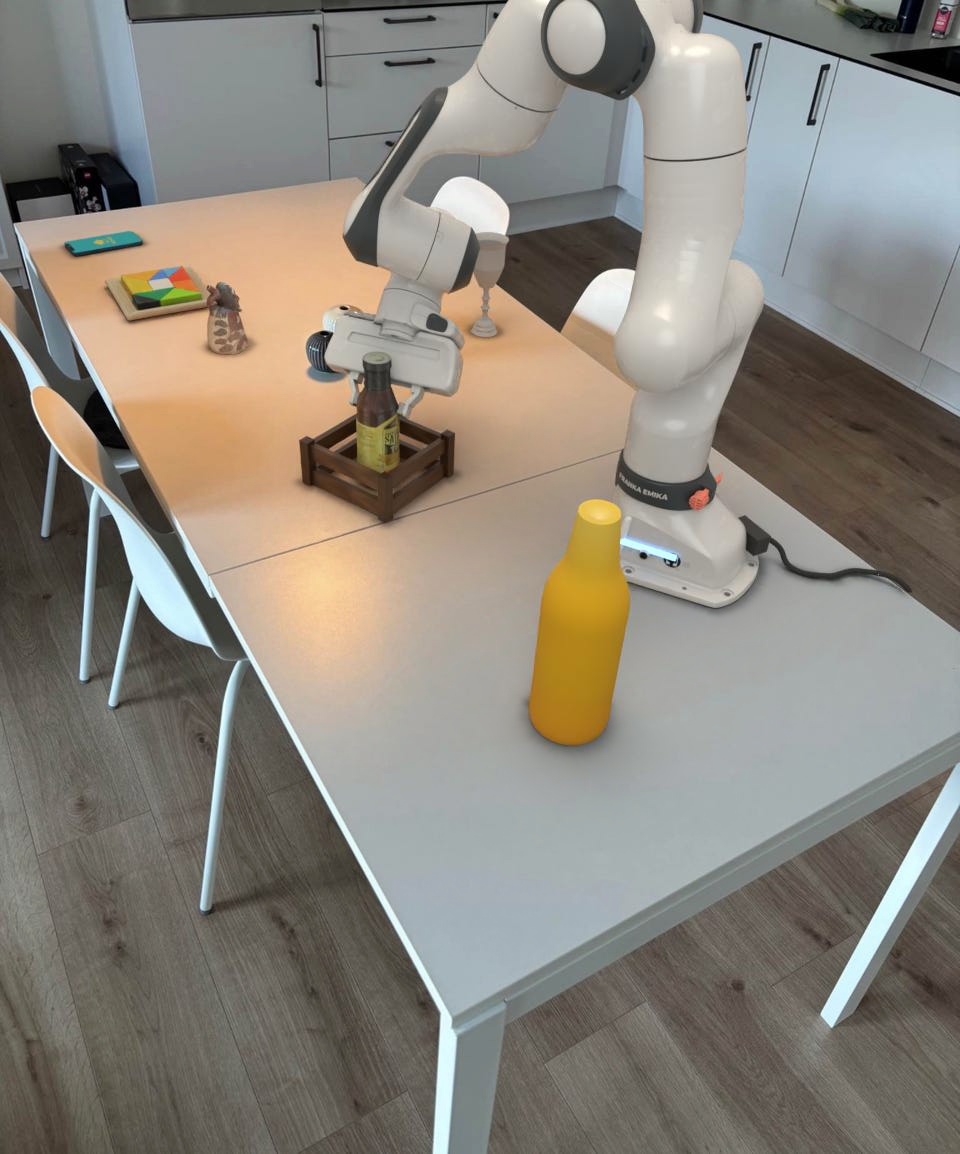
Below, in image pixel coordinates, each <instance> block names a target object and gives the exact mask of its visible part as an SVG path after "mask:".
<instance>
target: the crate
mask: <svg viewBox="0 0 960 1154" xmlns="http://www.w3.org/2000/svg"><path fill="white" fill-rule="evenodd" d="M356 416H357V412H356V413H354V414H352V415H351V416H349V417H348V418H346V419H344V420H343V421H341V422H339V423H338V424H335V425H334V426H333V427H331V428H329V429H328V430H326V431H324V432H322V433H321V434H319V435H318V436H316V437H314V438H313V437H311V436H308V435H305V436H304V437H302V438H300V439H299V440H298V442H299V454H300V469H301V479H302V480H301V481H302V484H304V485H306V486H309V487H312V486H315V487H317V488H318V489H321V490H324V491H325V492H328V493H329V494H331V495H334V496H336V497H337V498H340V499H342V500H343V501H346V502H348V503H351V504H353V505H355V506H357V507H359V508H361V509H363V510H365V511H367V512H369V513H371V514H373V515H375V516H377V519H378V520H379V521H382V522H384V523H385V524H387V523H389V522H390V521H391V520H393V519H394V515H395V514H396V513H397V512H398V511H400V510H401V509H403V508H404V507H405V506H407V505H408V504H409V503H412V502H413V501H414V500H416V498H419V496H421V495H422V494H424V493H425V492H426V491H428V490H429V489H431V488H432V487H434V486H435V485H436V484H438V483H439V482H441V481H442V480H443V479H444V478H445V479H449V478H450V477H451V478H452V476H453V475H454V473H455V452H456V451H455V450H456V447H455V446H456V433H455V432H454V431H451V430H449V429H445V430H443V431H442V432H440V431H437V430H435V429H433V428H430V427H429V426H425V425H423V424H421V423H418V422H415V421H413V420H411V419H406V418H402V417H399V428H400V430H399V435H402V436H405V437H408V438H410V439H412V440H415V441H416V442H419V443H421V444H424V445H426V446H425V447H424V448H421V447H418V446H416V445H414V444H412V443H409V442H406V441H404V440H402V439H400V438H399V459H402V460H404V461H403V462H401V463H399V465H398V466H397V467H395V468H394V469H392V470H391V471H389V472H388V473H387V472H385V471H384V472H382V473H379V472H377V471H375V470H373V469H371V468H368V467H366V466H364V465H362V464H360V463H358V462H357V461H355V460H354V459H357V437H355V438H354V439H352V440H350V441H349V442H346V443H345V444H344V445H342V446H341V447H338V448H337V449H335V450H331V448H333V447H335V446H336V445H338V444H339V443H341V442H342V441H344V440H346V439H348V438H350V437H351V436H353V435H355V434H357V426H356ZM422 469H425V471H424V472H422V473H421V474H419V475H418V476H416V477H415V478H413V479H412V480H410V481H409V482H407V483H406V484H405V485H403V486H402V487H400V488H399V489H398V490H396V491H395V492H394V489H395V488H396V487H398V486H400V485H401V484H403V483H404V482H406V481H407V480H408V479H410V478H411V477H412V476H414V475H415V474H417V473H418V472H419V471H422ZM335 472H336V473H339V474H341V475H343V476H345V477H348V478H349V479H352V480H353V481H355V482H358V483H360V484H362V485H364V484H365V485H364V486H366V485H367V486H369V487H368V488H371V489H373V490H375V491H377V495H376V494H374V493H372V492H370V491H368V490H366V489H363V488H361V487H359V486H357V485H355V484H353V483H351V482H349V481H347V480H344V479H342V478H340V477H338V476H336V475H334V474H332V473H335ZM367 486H366V487H367Z"/></svg>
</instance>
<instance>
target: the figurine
mask: <svg viewBox="0 0 960 1154" xmlns="http://www.w3.org/2000/svg"><path fill="white" fill-rule="evenodd" d="M205 287H206V290H208V291H209V292H210V293H211V294H210V295H209V296H208V298H207V307H206V308H207V311H208V317H207V325H206V329H207V330H206V337H207V344H208V347H209V349H210V350H211V351H212V352H213V353H216V354H219V355H237V354H240V353H242V352H243V351H245V350H246V348H248V347H249V345H250V344H249V340H248V336H247V333H246V330H245V327H244V324H243V321H242V317H241V315H240V313H241V312H243V308H242V307H241V306H240V303H239V302H240V299H241V298H240V297H239V296H238V295H237V294H236V291H235V289H234V288H233V287H232V286H231V285H229V284H228V283H226V282H224V281H219V282H217V283H216V285H215V287H214V286H213V285H211V284H207V285H205ZM214 301H216V302H217V303H216V304H215V305H214V306H211V303H212V302H214Z"/></svg>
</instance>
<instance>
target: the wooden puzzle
mask: <svg viewBox="0 0 960 1154" xmlns="http://www.w3.org/2000/svg"><path fill="white" fill-rule="evenodd" d="M104 284H105V285H106V286H107V288H108V290H109V291H110V293H111V295H112V296H113V298H114V300H115V301H116V304H117V305H118V306H119V308H120V310H121V311H122V313H123V315H124V317H125V318H126V319H127V321H134V320H139V319H146V318H151V317H157V316H162V315H163V316H164V315H168V314H175V313H181V312H185V311H191V310H197V309H203V308H207V298H208V296H209V295H210V294H211V293H210V292H209V291H208V290H206V285H205V284H204V282H203V281H202V280H201V278H200V277H199V275H198V274H197V273H196V271H195V270H194V268H193V267H192V266H187V267H184V266H183V265H181V266H180V265H179V266H174V267H166V268H161V269H160V268H159V269H152V270H147V271H141V272H133V273H127V274H121V275H120V277H116V278H115V277H114V278H109V279H105V280H104ZM216 303H217V302H216V301H214V302H212V303H211V307H213V306H214V305H215V304H216Z"/></svg>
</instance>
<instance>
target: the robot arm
mask: <svg viewBox="0 0 960 1154" xmlns="http://www.w3.org/2000/svg"><path fill="white" fill-rule="evenodd" d="M703 18H704V3H703V0H507V2H506V3H505V5H504V6H503V8H502V10H501V11H500V13H499V14H498V16H497V17H496V19H495V21H494V22H493V24H492V26H491V28H490V30H489V32H488V33H487V36H486V37H485V39H484V41H483V43H482V45H481V48H480V50H479V52H478V54H477V57H476V58H475V61H474V62H473V64H472V66H471V67H470V69H469V70H468V71H467V72H466V73H465V74H464V75H463V76H462V77H461V78H459V79H458V80H457V81H455V82H454V83H453V84H451V85H448V86H440V87H435V88H434V89H433V90H432V91H431V92H430V93H429V94H428V95H427V96H426V97H425V98H424V100H423V101H422V102H421V103H420V105H419V106H418V107H417V109H416V110H415V112H414V113H413V115H412V116H411V117H410V119H409V121H408V122H407V123H406V124H405V126H404V128H403V129H402V131H401V132H400V134H399V135H398V137H397V139H396V140H395V142H394V143H393V145H392V146H391V148H390V149H389V150H388V152H387V154H386V155H385V157H384V159H383V160H382V162H381V163H380V165H379V166H378V168H377V170H375V172H374V174H373V175H372V177H371V178H370V179H369V180H368V182H367V183H366V184H365V186H364V187H363V189H362V190H361V191H360V193H359V194H358V195H357V196H356V197H355V198H354V200H353V201H352V202H351V204H350V206H349V208H348V210H347V213H346V214H345V217H344V221H343V228H342V239H343V241H344V243H345V245H346V248H347V249H348V251H349V253H350V254H351V256H352V257H353V259H354V260H355V261H356V262H358V263H362V264H365V265H369V266H371V267H375V268H380V269H384V270H386V271H388V272H390V276H389V279H388V281H387V283H386V285H385V286H384V288H383V290H382V294H381V297H380V300H379V303H378V305H377V310H376V313H374V314H373V313H369V312H360V311H359V310H354V309H350V310H348V311H347V312H343V313H341V314H340V315H339V316H338V317H337V319H336V323H335V326H334V331H333V334H332V336H331V338H330V340H329V342H328V345H327V348H326V350H325V352H324V355H323V357H324V358H323V359H324V361H325V364H326V365H327V367H329V369H330V370H332V371H333V372H336V373H341V374H345V375H348V382H349V387H350V391H351V394H350V398H349V401H348V402H349V405H350V406H352V407H356V408H357V405H356V404H357V398H358V396H359V394H360V392H361V391H360V388H359V385H362V384H363V383H364V368H363V361H362V359H363V356H364V355H365V354H367V353H370V352H384V353H386V354H388V355H390V357H391V362H392V367H391V369H390V379H391V380H390V381H391V385H394V386H397V387H401V388H407V389H410V393H411V396H409V398H408V399H407V400H406V401H405V402H400V401H399V403H398V407H399V408H398V409H397V415H398V416H399V417H402V418H406V419H408V420H410V416H411V413H412V410H413V409H414V408H415V407H416V406H417V405H418V404H419V403H420V402H421V401H422V400H424V396H425V393H428V394H429V393H430V394H434V395H437V396H438V395H439V396H443V397H447V398H451V397H453V396H454V395H455V394H456V393H458V390H459V388H460V384H461V379H462V374H463V368H464V356H463V354H462V352H461V351H462V350H463V348H464V347H465V343H466V340H465V337H464V334H463V332H462V330H461V329H460V328H459V326H458V325H457V323H455V322H454V321H453V320H451V319H449V318H448V317H446V316H444V315H443V314H442V313H441V312H442V301H443V296H444V294H446V295H449V294H450V295H451V294H452V293H455V292H458V291H460V290H463V289H464V288H467V287H468V286H469V285H470V283H471V281H472V278H473V276H474V273H473V271H474V267H475V264H476V260H477V257H478V254H479V251H480V245H479V242H478V239H477V236H476V232H475V230H474V228H473V227H472V226H470V225H468V224H467V223H466V222H464V221H462V220H459V219H457V218H456V217H455V216H454V215H453V214H451V213H450V212H448V211H446V210H445V209H442V208H439V207H435V206H425V205H423V204H421V203H418V202H416V201H415V200H411V199H409V198H407V197H406V196H404V193H405V192H406V190H408V188H409V187H410V185H411V183H412V182H413V180H414V179H415V178H416V176H417V175H418V174H419V172H420V170H421V169H422V167H424V165H425V163H426V162H428V161H429V160H431V159H433V158H435V157H437V156H442V155H453V154H464V155H465V154H466V155H478V156H486V157H505V156H511V155H515V154H518V153H521V152H523V151H525V150H528V149H529V148H531V147H533V146H534V145H535V144H536V143H537V142H538V141H539V140H540V139H541V137H542V136H543V135H544V133H545V132H546V130H547V129H548V127H549V126H550V124H551V123H552V121H553V119H554V117H555V115H556V114H557V112H558V110H559V108H560V106H561V104H562V102H563V100H564V98H565V97H566V94H567V93H568V90H569V88H570V86H572V87H575V88H578V89H580V90H584V91H588V92H592V93H597V94H600V95H603V96H605V97H608V98H611V99H613V100H615V101H624V100H626V99H627V98H629V97H631V96H632V97H634V99H635V100H636V102H637V103H638V105H639V107H640V108H639V109H640V111H641V116H642V127H643V130H642V131H643V133H642V134H643V140H642V141H643V142H642V143H643V145H642V147H643V148H642V153H643V154H642V159H643V160H642V161H643V163H642V164H643V165H642V167H643V169H642V171H643V202H642V203H643V209H642V210H643V214H642V215H643V218H642V230H641V231H642V232H641V237H640V238H641V239H640V245H639V249H638V256H637V260H636V261H637V262H636V266H635V270H634V271H635V272H634V276H633V281H632V284H631V285H632V286H631V291H630V295H629V300H628V303H627V307H626V310H625V313H624V315H623V317H622V320H621V322H620V324H619V326H618V329H616V330H617V331H616V333H615V335H614V339H613V357H614V361H615V363H616V367H617V368H618V370H619V372H620V373H621V375H622V376H623V378H624V379H625V380H626V381H627V382H629V383H630V384H631V385H632V386H634V388H637V390H636V392H635V394H634V395H633V399H632V401H631V405H630V411H629V416H628V421H627V422H628V423H627V427H626V433H625V434H626V435H625V439H624V440H625V441H624V446H623V448H622V449H621V451H620V453H619V457H618V461H617V464H616V470H615V477H614V478H615V480H614V486H615V491H614V493H613V498H612V501H611V503H613V504H615V505H616V506H617V507H618V508H619V509H620V511H621V538H620V565H621V568H622V570H623V573H624V575H625V578H626V580H627V583H632V584H634V585H637V586H640V587H644V588H647V589H651V590H654V591H657V592H660V593H663V594H667V595H670V596H673V597H676V598H680V599H682V600H686V601H689V602H693V603H696V604H699V605H702V606H706V607H709V608H714V609H719V608H722V607H726V606H728V605H730V604H732V603H735V602H736V601H737V600H739V599H740V598H741V597H742V596H744V595H745V594H746V593H747V591H748V590H749V589H750V588H751V587H752V585H753V583H754V582H755V580H756V578H757V575H758V572H759V567H760V566H759V564H760V561H759V557H758V556H759V555H762V554H764V553H767V552H768V550H769V546H770V544H771V545H772V546H773V547H774V548H775V549H776V550H777V551H778V554H779V556H780V559H781V562H782V564H783V565H784V566H785V567H786V568H787V569H788V570H790V571H791V572H793V573H795V574H797V575H799V576H803V577H806V578H807V577H808V578H814V579H837V578H841V577H844V576H848V575H852V574H860V575H869V576H876V577H881V578H885V579H888V580H891V581H892V582H895V583H896V584H898V585H899V586H900V587H901V588H902V589H903V590H904V591H905V592H907V593H913V589H912V588H911V587H910V585H909V584H908V583H907V582H906V581H905V580H904V579H902V578H901V577H899V576H897V575H895V574H892V573H890V572H887V571H882V570H877V569H870V568H863V567H862V568H861V567H849V568H846V569H842V570H839V571H836V572H816V571H809V570H804V569H801V568H799V567H797V566H795V565H793V564H792V563H791V562H790V561H789V559H788V557H787V554H786V550H785V549H784V548H783V545H781V543H779V542H778V541H777V540H776V539H775V538H773V537H772V536H771V535H770V533H768V532H766V531H765V530H764V529H763V528H761V526H759V525H758V524H757V523H755V521H753V520H752V519H751V518H749V517H748V516H747V515H741V516H737V515H736V514H735V513H734V512H733V511H732V510H731V509H730V507H729V505H727V504H726V503H725V502H724V501H723V499H722V498H721V497H720V496H719V494H717V492H716V491H717V487H718V485H719V484H721V481H722V477H723V472H720V473H719V474H718V475H717V476H716V477H714V475H713V473H712V472H711V468H710V464H709V458H710V453H711V449H712V447H713V446H712V445H713V441H714V437H715V432H716V429H717V426H718V425H717V424H718V421H719V417H720V414H721V411H722V409H723V407H724V403H725V400H726V398H727V396H728V394H729V392H730V389H731V387H732V384H733V382H734V379H735V377H736V374H737V372H738V369H739V367H740V364H741V362H742V359H743V356H744V353H745V351H746V347H747V345H748V342H749V340H750V337H751V335H752V332H753V330H754V328H755V326H756V323H757V322H758V320H759V318H760V316H761V314H762V311H763V309H764V305H765V304H764V303H765V291H764V286H763V283H762V281H761V279H760V277H759V276H758V275H759V274H758V273H756V271H755V270H754V269H753V268H752V267H750V265H748V264H747V263H745V262H744V261H741V260H738V259H734V258H732V254H733V251H734V248H735V244H736V241H737V239H738V237H739V234H740V232H741V230H742V227H743V223H744V219H745V199H746V197H745V196H746V177H747V176H746V174H747V152H748V151H747V150H748V108H747V93H746V84H745V75H744V70H743V63H742V57H741V55H740V52H739V50H738V49H737V47H736V46H735V45H734V44H733V43H732V42H731V41H730V40H728V39H726V38H724V37H722V36H719V35H717V34H712V33H706V32H705V33H704V32H701V29H702V26H703V20H704V19H703ZM878 574H879V575H878Z"/></svg>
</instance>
